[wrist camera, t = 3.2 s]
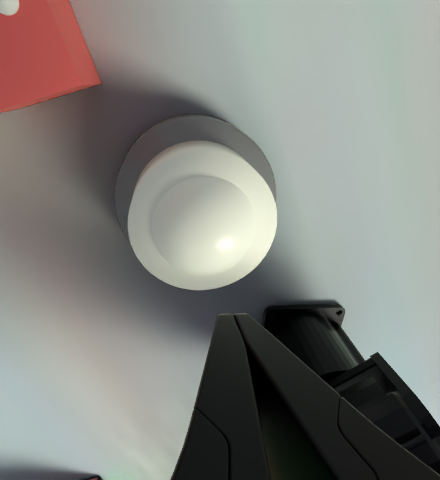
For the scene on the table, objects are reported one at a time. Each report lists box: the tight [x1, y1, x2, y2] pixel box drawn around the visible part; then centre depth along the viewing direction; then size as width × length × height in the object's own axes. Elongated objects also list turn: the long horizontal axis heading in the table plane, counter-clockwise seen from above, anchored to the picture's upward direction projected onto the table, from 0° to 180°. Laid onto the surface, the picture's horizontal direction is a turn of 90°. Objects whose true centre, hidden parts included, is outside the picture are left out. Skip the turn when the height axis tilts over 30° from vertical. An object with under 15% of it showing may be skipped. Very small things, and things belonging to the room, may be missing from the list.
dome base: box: [115, 115, 276, 242], centre depth 19 cm, size 9×9×2 cm
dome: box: [128, 140, 277, 290], centre depth 16 cm, size 7×7×5 cm
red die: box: [0, 0, 102, 113], centre depth 14 cm, size 4×4×5 cm
